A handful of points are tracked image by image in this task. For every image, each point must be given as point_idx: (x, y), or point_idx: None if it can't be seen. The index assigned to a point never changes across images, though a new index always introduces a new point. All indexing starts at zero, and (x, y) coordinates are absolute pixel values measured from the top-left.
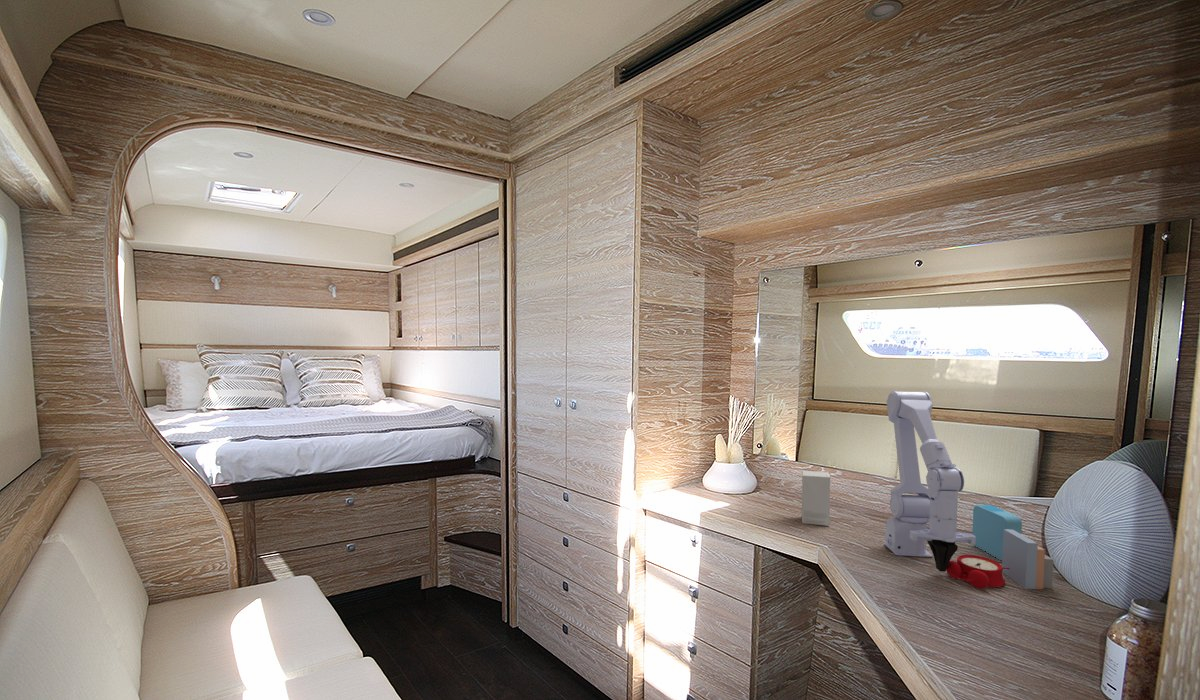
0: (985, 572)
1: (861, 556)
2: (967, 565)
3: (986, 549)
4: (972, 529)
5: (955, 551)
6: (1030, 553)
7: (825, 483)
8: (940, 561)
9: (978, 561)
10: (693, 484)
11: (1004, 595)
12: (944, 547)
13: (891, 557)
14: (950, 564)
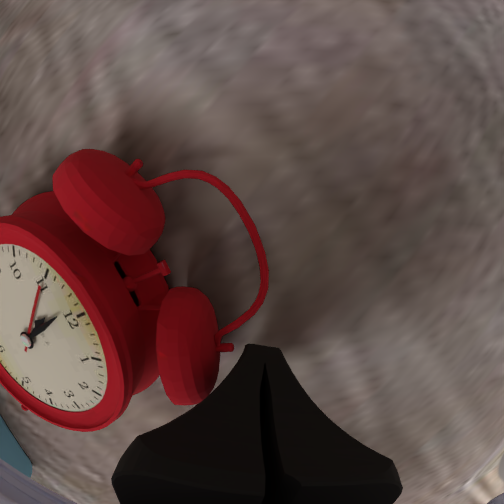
0: (38, 223)
1: (445, 459)
2: (102, 318)
3: (7, 440)
4: None
5: (161, 428)
6: None
7: None
8: (298, 385)
9: (25, 365)
10: None
11: (67, 110)
12: (324, 479)
13: None
14: (206, 371)
